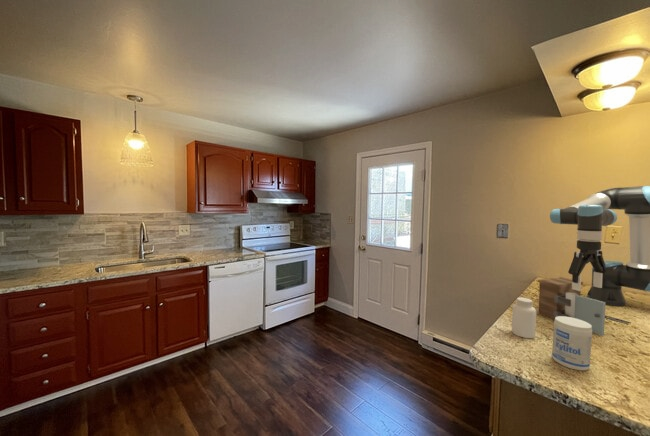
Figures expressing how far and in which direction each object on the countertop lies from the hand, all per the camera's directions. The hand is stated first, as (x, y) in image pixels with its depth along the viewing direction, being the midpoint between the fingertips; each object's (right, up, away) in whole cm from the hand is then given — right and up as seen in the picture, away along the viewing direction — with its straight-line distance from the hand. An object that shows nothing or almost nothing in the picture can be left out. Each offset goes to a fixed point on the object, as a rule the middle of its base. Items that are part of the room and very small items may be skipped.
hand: (587, 288), depth 115 cm
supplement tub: (-30, -19, -25) cm, 44 cm away
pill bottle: (-31, -18, -4) cm, 36 cm away
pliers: (+23, -18, +16) cm, 33 cm away
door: (0, -18, +1) cm, 18 cm away
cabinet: (+2, -18, +13) cm, 22 cm away
